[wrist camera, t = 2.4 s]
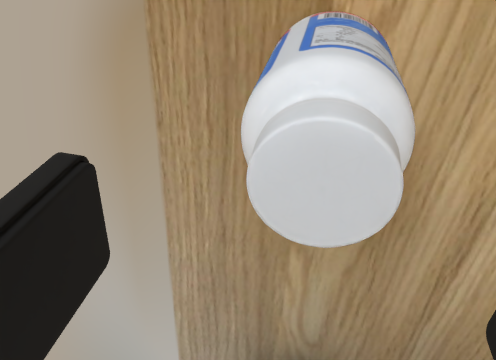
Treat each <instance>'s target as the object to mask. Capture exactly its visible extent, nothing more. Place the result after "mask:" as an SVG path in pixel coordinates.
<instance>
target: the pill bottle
mask: <svg viewBox="0 0 496 360" xmlns="http://www.w3.org/2000/svg"><path fill="white" fill-rule="evenodd" d="M241 141H242V148H243V152H244V156H245V159H246V161H247V163H248V169H247V190H248V195H249V198H250V201H251V203H252V205H253V207H254V209H255V211H256V212H257V214H258V215H259V217H260V218H261V219H262V220H263V221H264V223H265V224H267V225H268V226H269V227H270V228H271V229H273V230H274V231H275V232H277V233H278V234H280V235H281V236H283V237H285V238H287V239H289V240H291V241H294V242H297V243H300V244H303V245H307V246H313V247H321V248H333V247H341V246H347V245H351V244H355V243H358V242H360V241H362V240H364V239H367V238H369V237H371V236H372V235H374V234H375V233H377V232H378V231H379V230H381V229H382V228H383V227H384V226H385V225H386V224H387V223H388V222H389V221H390V219H391V218H392V217H393V215H394V213H395V212H396V210H397V209H398V206H399V204H400V201H401V198H402V193H403V184H404V183H403V171H404V170H405V168H406V166H407V164H408V162H409V160H410V157H411V154H412V150H413V146H414V141H415V123H414V116H413V112H412V108H411V105H410V101H409V98H408V95H407V92H406V90H405V87H404V85H403V83H402V80H401V77H400V75H399V73H398V70H397V67H396V65H395V62H394V60H393V57H392V54H391V51H390V49H389V47H388V44H387V42H386V41H385V39H384V37H383V36H382V35H381V33H380V32H379V31H378V30H377V29H376V28H375V27H374V26H373V25H372V24H371V23H369V22H368V21H366V20H365V19H363V18H361V17H359V16H356V15H353V14H350V13H346V12H337V11H336V12H322V13H317V14H314V15H311V16H309V17H306V18H304V19H302V20H301V21H299V22H297V23H296V24H295V25H293V26H292V27H291V28H290V29H289V30H288V31H287V32H286V33H285V34H284V35H283V36H282V38H281V39H280V40H279V42H278V43H277V45H276V47H275V49H274V51H273V53H272V55H271V57H270V59H269V61H268V62H267V64H266V66H265V68H264V70H263V72H262V74H261V76H260V78H259V80H258V82H257V84H256V86H255V88H254V90H253V92H252V94H251V96H250V98H249V100H248V103H247V105H246V108H245V111H244V114H243V119H242V125H241Z"/></svg>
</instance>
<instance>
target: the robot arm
mask: <svg viewBox="0 0 496 360" xmlns="http://www.w3.org/2000/svg"><path fill="white" fill-rule="evenodd" d="M109 257H110V250H109V244H108V238H107V232H106V227H105V221H104V216H103V209H102V204H101V198H100V192H99V187H98V181H97V175H96V170H95V167H94V165H92V164H90V163H89V161H88V159H87V158H86V157H84V156H81V155H74V154H68V153H62V152H61V153H57V154H55V155H53V156H52V157H51V158H50V159H49V160H47V161H46V162H45V163H44V164H42V165H41V166H40V167H39V168H38V169H36V170H35V171H34V172H33V173H32V174H31V175H29V176H28V177H27V178H26V179H24V180H23V181H22V182H21V183H19V185H17V186H16V187H15V188H14V189H12V190H11V191H10V192H9V193H7V194H6V195H5V196H4V197H3V198H1V199H0V360H44V358H45V357H46V355H47V354H48V352H49V351H50V349H51V348H52V346H53V345H54V344H55V342H56V340H57V339H58V338H59V336H60V335H61V333H62V332H63V330H64V329H65V327H66V326H67V324H68V323H69V321H70V320H71V318H72V317H73V315H74V314H75V312H76V311H77V309H78V308H79V306H80V305H81V303H82V302H83V301H84V299H85V298H86V296H87V295H88V293H89V292H90V290H91V289H92V287H93V286H94V284H95V283H96V281H97V280H98V278H99V277H100V275H101V274H102V272H103V271H104V269H105V268H106V266H107V264H108V261H109ZM486 337H487V342H488V345H489V348H490V350H491V353H492V356H493V359H494V360H496V310H495V312H494V314H493V315H492V317H491V319H490V320H489V322H488V324H487V329H486Z"/></svg>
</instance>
